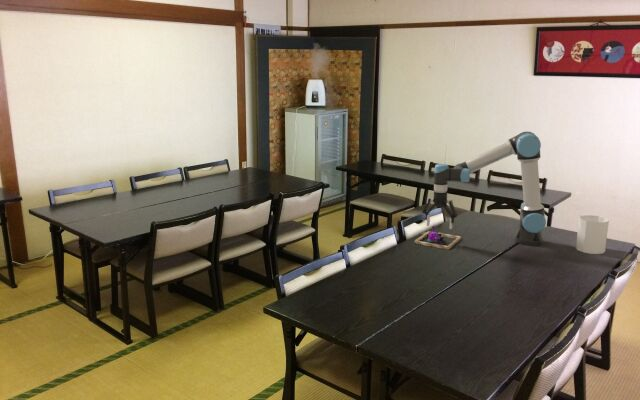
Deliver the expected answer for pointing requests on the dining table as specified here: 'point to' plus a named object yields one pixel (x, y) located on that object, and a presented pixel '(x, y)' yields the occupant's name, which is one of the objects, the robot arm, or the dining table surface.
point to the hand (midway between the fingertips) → (439, 227)
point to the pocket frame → (424, 234)
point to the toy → (435, 236)
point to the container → (592, 234)
